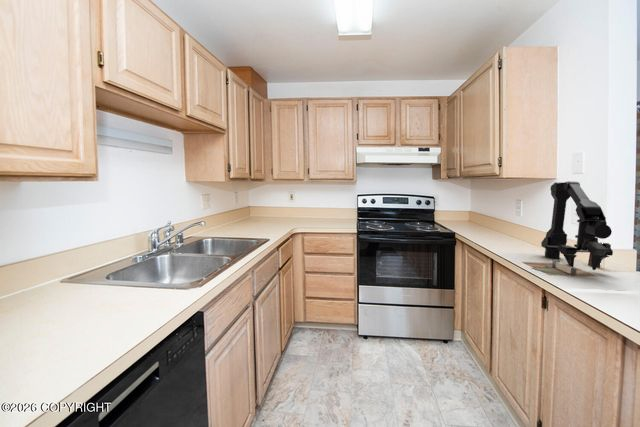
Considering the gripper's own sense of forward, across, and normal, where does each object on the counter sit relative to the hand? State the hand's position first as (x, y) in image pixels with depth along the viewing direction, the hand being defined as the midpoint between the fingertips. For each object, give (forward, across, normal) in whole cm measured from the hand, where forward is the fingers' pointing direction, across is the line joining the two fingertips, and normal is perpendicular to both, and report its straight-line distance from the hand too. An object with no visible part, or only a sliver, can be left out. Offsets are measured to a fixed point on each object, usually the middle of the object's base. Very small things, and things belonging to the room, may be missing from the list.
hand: (582, 269), depth 134 cm
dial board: (+2, -7, +5) cm, 9 cm away
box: (+3, +15, +13) cm, 20 cm away
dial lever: (+1, -7, +1) cm, 7 cm away
